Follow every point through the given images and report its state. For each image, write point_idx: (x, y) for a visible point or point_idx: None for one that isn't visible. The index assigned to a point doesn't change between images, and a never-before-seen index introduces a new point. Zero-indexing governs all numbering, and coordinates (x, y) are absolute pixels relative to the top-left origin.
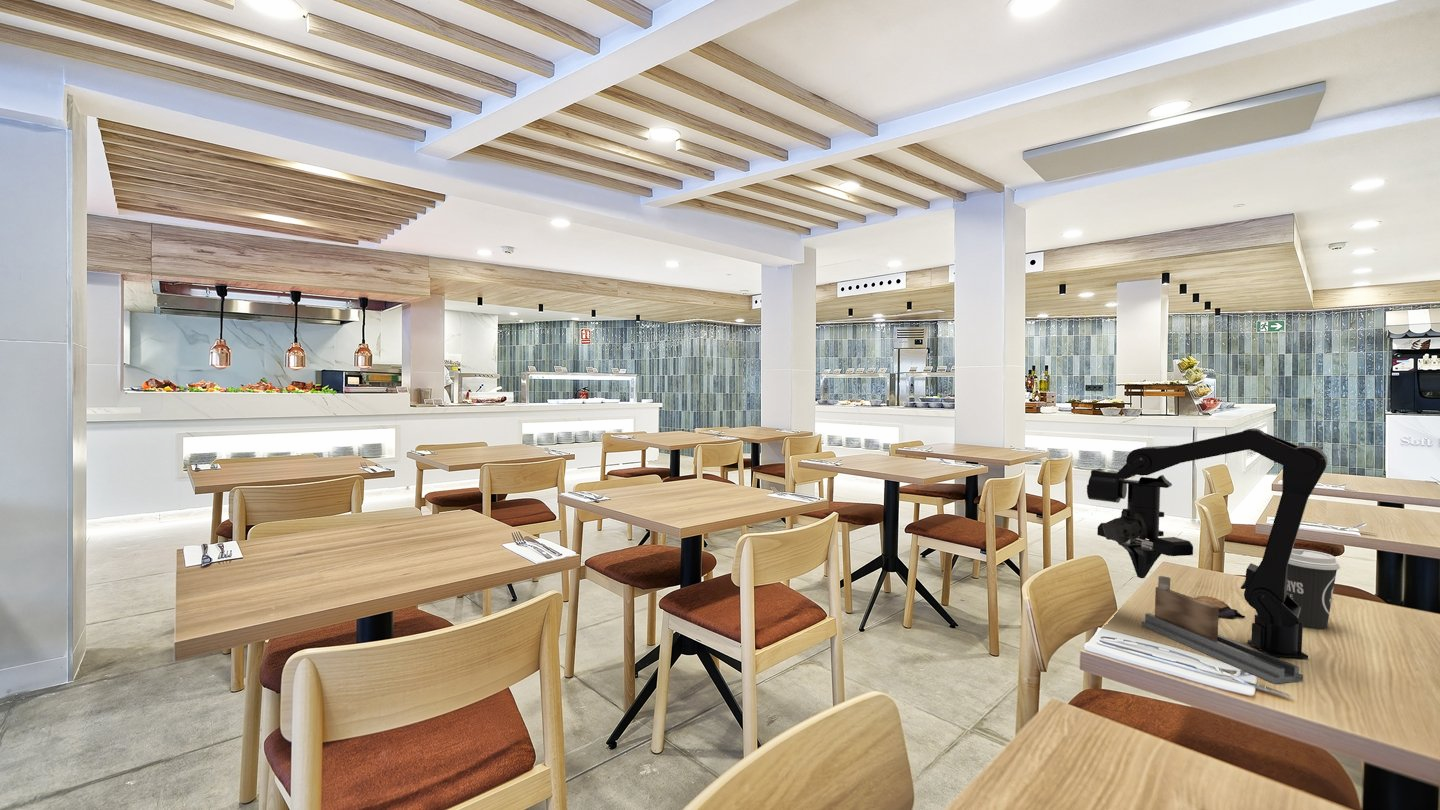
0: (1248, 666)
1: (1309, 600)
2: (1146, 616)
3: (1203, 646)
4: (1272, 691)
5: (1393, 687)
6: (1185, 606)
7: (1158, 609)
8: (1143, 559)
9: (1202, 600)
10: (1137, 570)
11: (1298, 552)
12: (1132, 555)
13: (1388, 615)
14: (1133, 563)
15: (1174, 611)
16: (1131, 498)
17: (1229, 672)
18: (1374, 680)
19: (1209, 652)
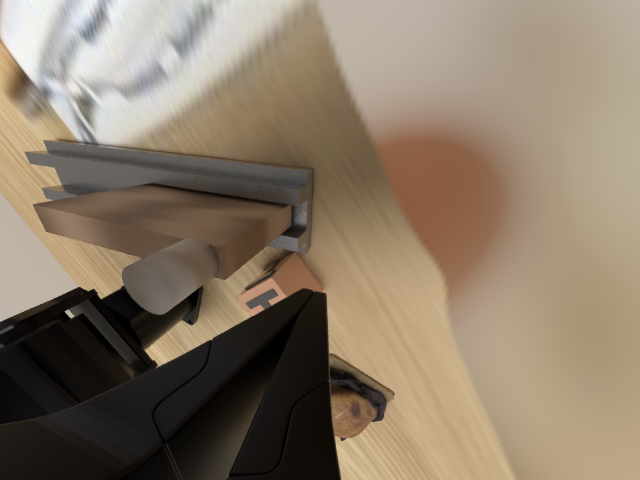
0: (76, 145)
1: None
2: (297, 187)
3: (150, 157)
4: (29, 101)
5: (94, 286)
6: (137, 210)
7: (259, 212)
8: (136, 380)
9: (335, 409)
10: (302, 314)
11: None
12: (277, 456)
13: None
14: (316, 358)
15: (197, 207)
16: None
17: (80, 101)
18: (107, 290)
19: (141, 150)
